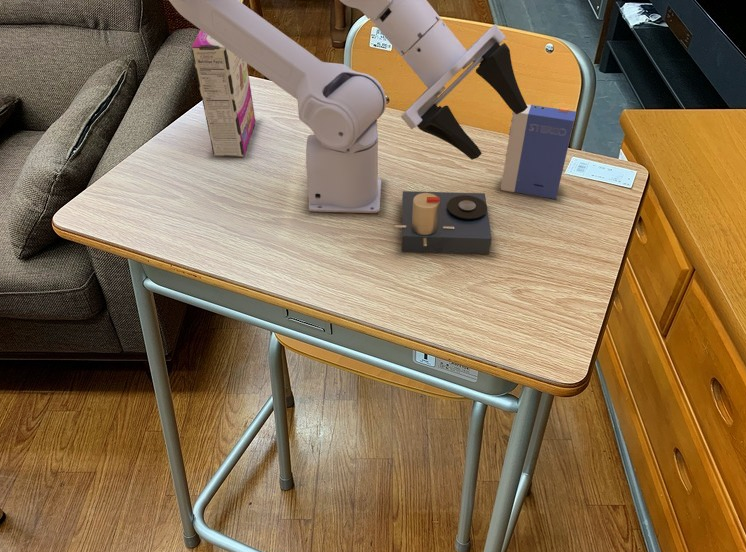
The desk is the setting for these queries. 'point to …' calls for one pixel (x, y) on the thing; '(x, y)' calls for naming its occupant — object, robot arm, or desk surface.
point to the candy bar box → (224, 96)
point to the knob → (425, 213)
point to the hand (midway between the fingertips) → (499, 133)
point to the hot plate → (445, 229)
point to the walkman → (537, 150)
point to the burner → (466, 208)
